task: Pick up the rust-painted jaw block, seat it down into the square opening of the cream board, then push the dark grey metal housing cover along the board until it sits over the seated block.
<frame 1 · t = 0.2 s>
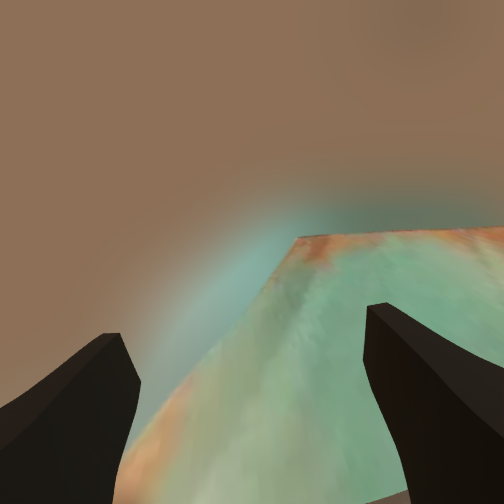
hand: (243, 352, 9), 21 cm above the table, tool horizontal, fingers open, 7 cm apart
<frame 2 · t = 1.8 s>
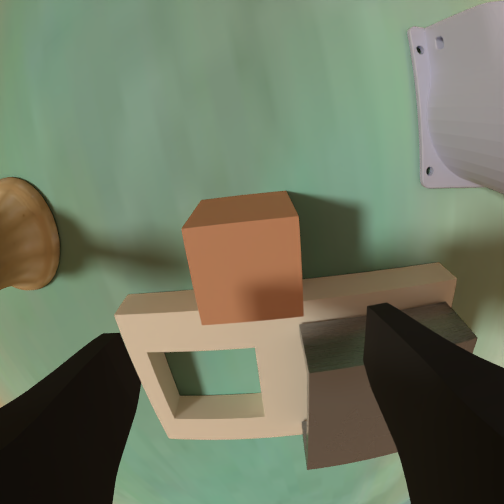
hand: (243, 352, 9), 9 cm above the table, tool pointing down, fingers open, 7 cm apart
jaw block: (248, 234, 17), on the table
housing cover: (378, 394, 16), point 4 cm above the table, slide at 0.0 cm
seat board: (293, 358, 21), on the table
hand bell: (18, 234, 18), on the table
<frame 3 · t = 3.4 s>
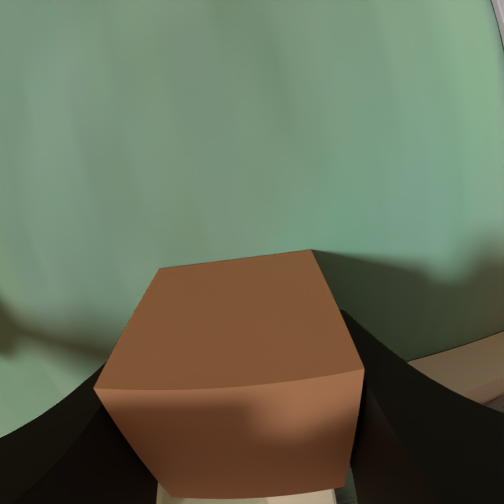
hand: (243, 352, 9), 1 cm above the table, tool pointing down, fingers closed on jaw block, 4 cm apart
jaw block: (244, 323, 10), on the table, touching gripper
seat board: (310, 458, 13), on the table
when the fingers open (3 cm above the table, at t = 6.2 s): jaw block drops 1 cm, resting in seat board.
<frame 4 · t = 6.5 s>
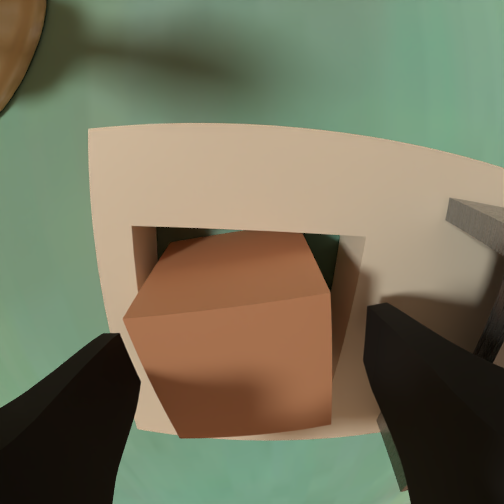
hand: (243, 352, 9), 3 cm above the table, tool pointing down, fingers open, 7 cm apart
jaw block: (243, 288, 12), resting in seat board
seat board: (382, 296, 12), on the table
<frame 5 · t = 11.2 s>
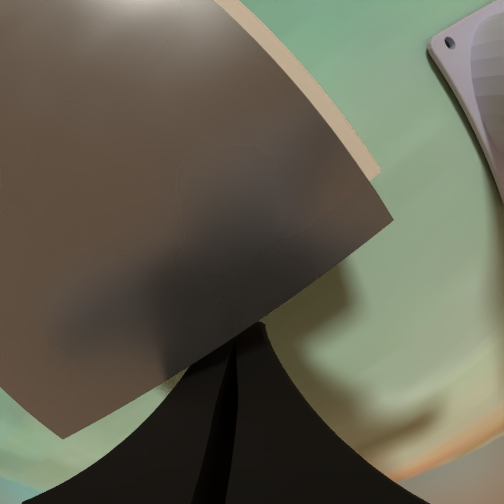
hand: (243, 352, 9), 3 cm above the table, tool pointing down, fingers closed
housing cover: (45, 181, 6), point 4 cm above the table, slide at 0.0 cm, touching gripper
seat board: (49, 76, 9), on the table
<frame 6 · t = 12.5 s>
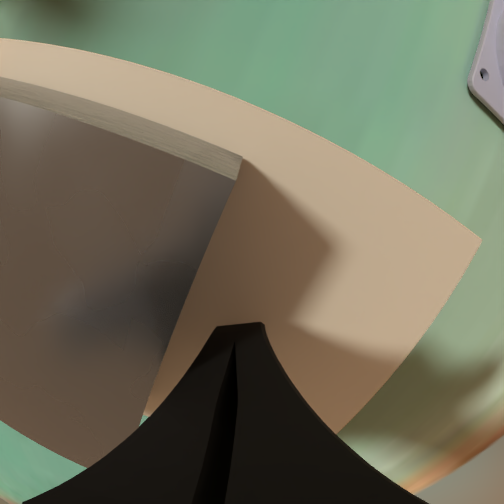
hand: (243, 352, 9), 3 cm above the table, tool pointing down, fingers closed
housing cover: (16, 277, 7), point 4 cm above the table, slide at 7.4 cm, touching gripper
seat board: (146, 252, 11), on the table
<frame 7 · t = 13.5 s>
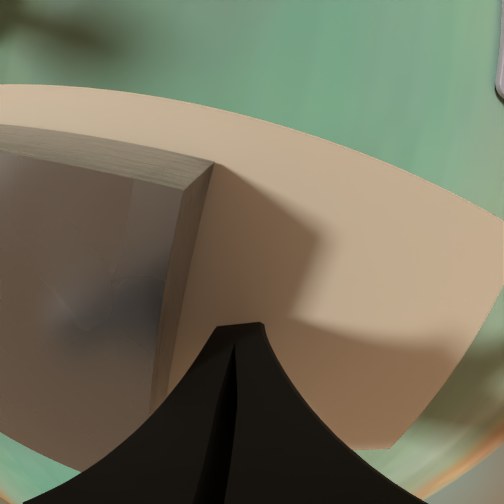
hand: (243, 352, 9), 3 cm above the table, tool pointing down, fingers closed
housing cover: (20, 309, 7), point 5 cm above the table, slide at 10.5 cm, touching gripper
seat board: (225, 288, 12), on the table
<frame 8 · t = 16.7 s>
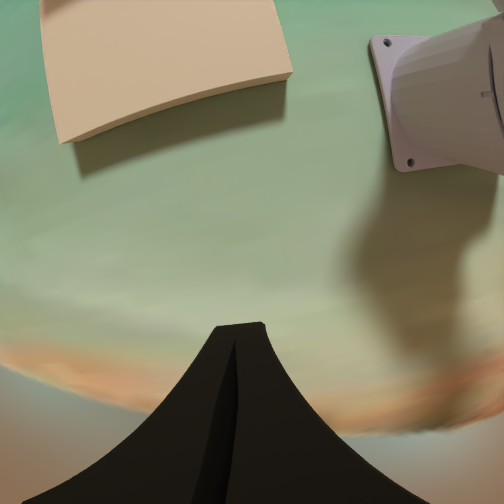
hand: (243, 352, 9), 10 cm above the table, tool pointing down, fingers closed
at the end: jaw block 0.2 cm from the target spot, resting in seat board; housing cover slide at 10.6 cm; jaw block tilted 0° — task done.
